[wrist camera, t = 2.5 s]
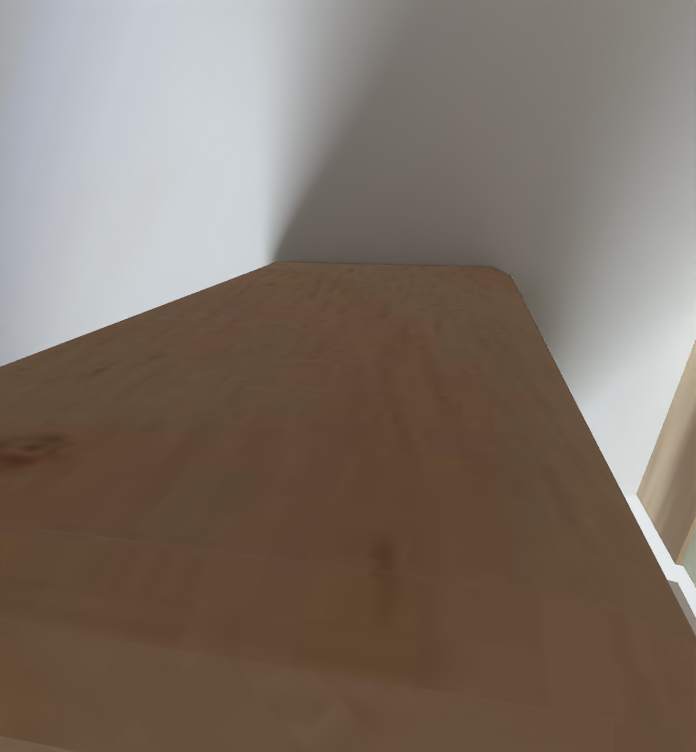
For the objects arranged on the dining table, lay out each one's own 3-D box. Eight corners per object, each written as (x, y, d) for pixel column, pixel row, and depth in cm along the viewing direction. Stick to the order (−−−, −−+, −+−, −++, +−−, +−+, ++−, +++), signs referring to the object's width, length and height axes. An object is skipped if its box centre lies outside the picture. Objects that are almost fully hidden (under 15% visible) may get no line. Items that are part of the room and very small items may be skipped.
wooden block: (261, 258, 23) (-567, 534, 5) (517, 264, 22) (857, 757, 3) (271, 479, 26) (-203, 1183, 8) (495, 501, 25) (589, 1490, 6)
